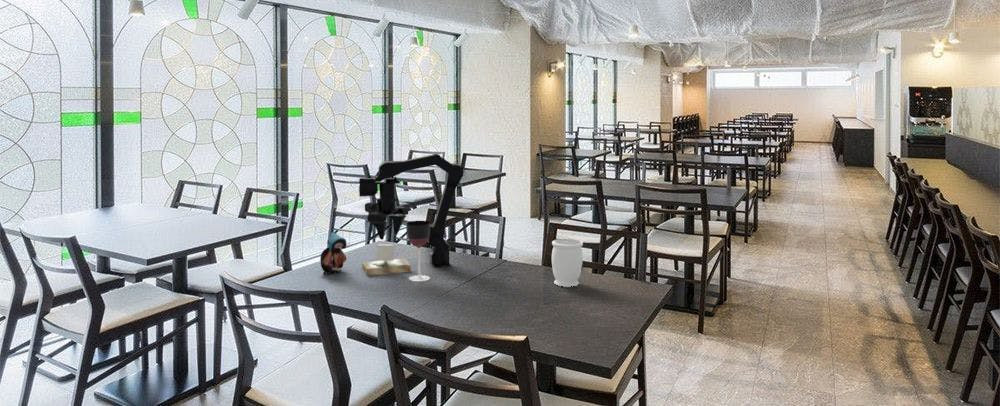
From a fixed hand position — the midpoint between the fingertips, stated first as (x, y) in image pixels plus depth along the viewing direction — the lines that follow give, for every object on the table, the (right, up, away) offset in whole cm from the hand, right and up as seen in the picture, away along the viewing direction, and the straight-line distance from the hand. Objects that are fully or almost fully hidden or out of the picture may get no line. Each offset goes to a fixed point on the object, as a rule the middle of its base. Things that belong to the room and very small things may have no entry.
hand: (388, 236), depth 240 cm
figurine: (-19, -13, -5) cm, 23 cm away
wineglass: (+13, -14, -12) cm, 22 cm away
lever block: (-1, -12, -2) cm, 12 cm away
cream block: (-1, -10, -4) cm, 11 cm away
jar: (+64, -16, -18) cm, 69 cm away
